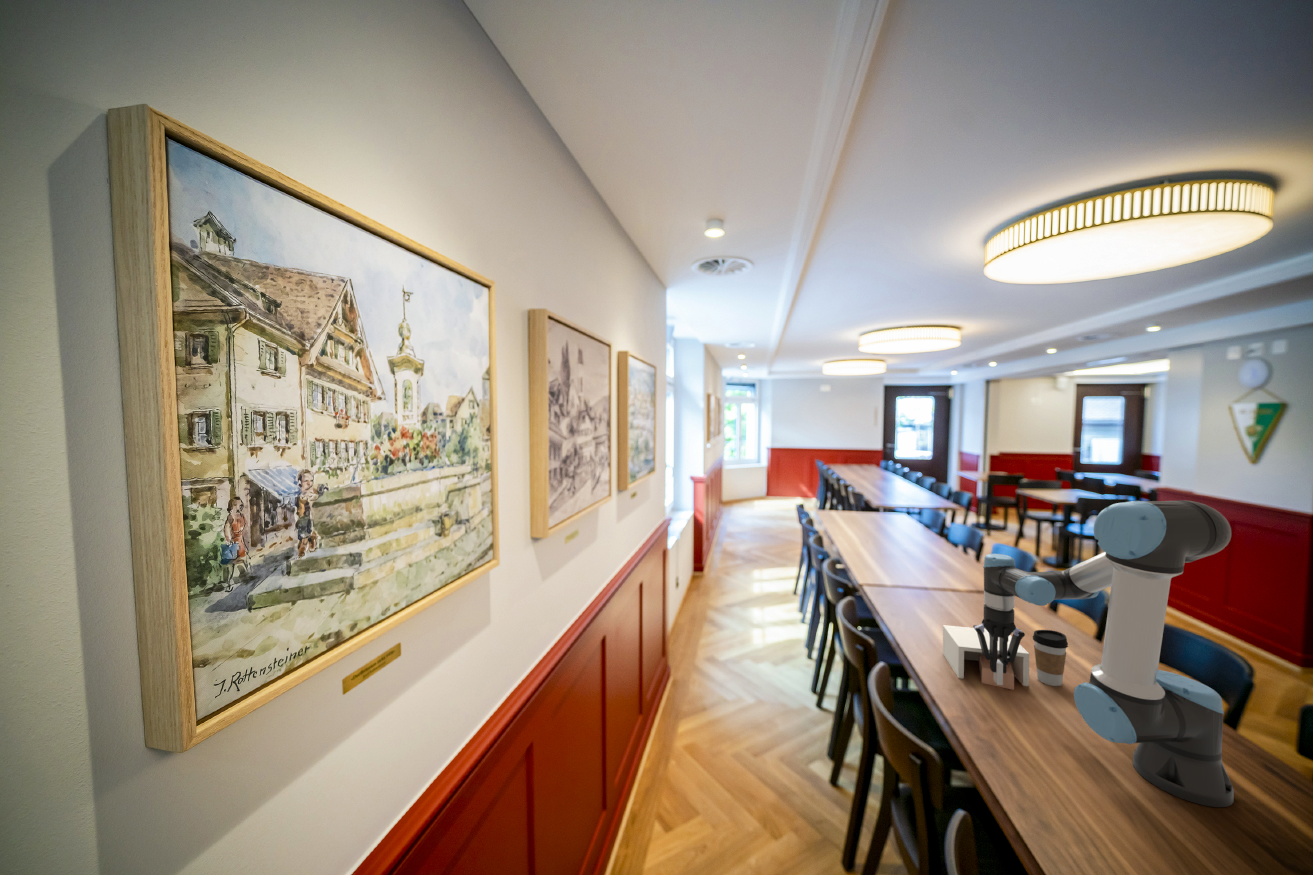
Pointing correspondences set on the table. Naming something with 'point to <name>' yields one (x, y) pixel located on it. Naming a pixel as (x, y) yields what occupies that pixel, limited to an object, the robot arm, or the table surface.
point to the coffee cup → (1050, 656)
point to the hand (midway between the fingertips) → (998, 682)
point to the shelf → (978, 651)
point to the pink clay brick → (988, 674)
